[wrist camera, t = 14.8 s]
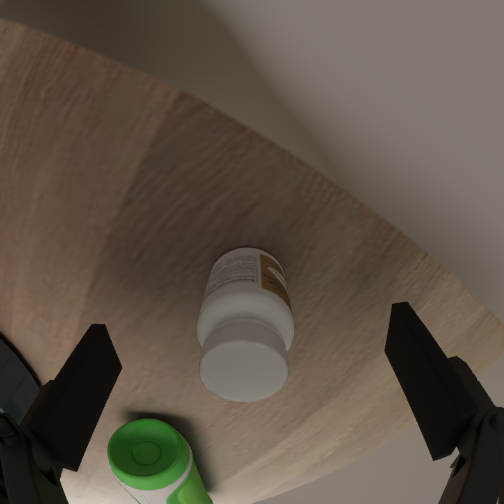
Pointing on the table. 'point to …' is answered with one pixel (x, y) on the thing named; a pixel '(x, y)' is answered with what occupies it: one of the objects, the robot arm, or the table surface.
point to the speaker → (155, 464)
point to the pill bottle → (245, 327)
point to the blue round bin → (15, 385)
